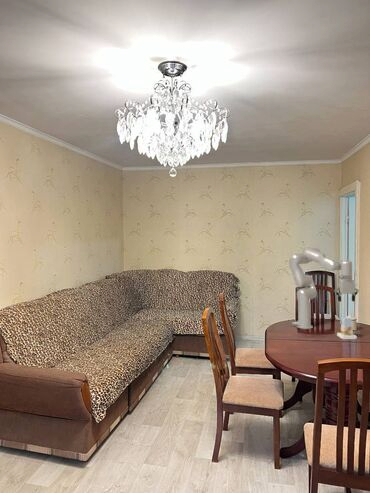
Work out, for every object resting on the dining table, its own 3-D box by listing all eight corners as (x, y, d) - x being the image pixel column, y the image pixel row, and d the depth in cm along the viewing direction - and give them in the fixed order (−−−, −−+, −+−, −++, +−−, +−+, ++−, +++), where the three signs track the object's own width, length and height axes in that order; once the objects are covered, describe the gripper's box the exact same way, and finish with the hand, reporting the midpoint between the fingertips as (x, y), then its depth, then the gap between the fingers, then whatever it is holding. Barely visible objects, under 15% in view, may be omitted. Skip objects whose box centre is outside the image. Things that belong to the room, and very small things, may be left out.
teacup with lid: (357, 329, 288) (357, 314, 288) (355, 331, 281) (355, 316, 280) (341, 327, 295) (341, 312, 295) (338, 329, 288) (338, 314, 287)
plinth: (342, 339, 260) (342, 336, 260) (337, 335, 270) (337, 332, 270) (356, 338, 260) (356, 336, 260) (350, 335, 270) (350, 332, 270)
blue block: (344, 327, 262) (344, 318, 262) (341, 325, 267) (341, 317, 267) (351, 327, 262) (351, 318, 262) (348, 325, 267) (348, 317, 267)
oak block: (344, 335, 262) (344, 327, 262) (340, 333, 268) (340, 325, 268) (352, 335, 262) (352, 327, 262) (349, 333, 268) (349, 325, 268)
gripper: (336, 278, 261) (336, 302, 261) (360, 278, 260) (360, 302, 261) (332, 277, 268) (332, 300, 268) (356, 277, 268) (356, 300, 268)
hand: (346, 301), depth 265 cm, fingers open, 9 cm apart
